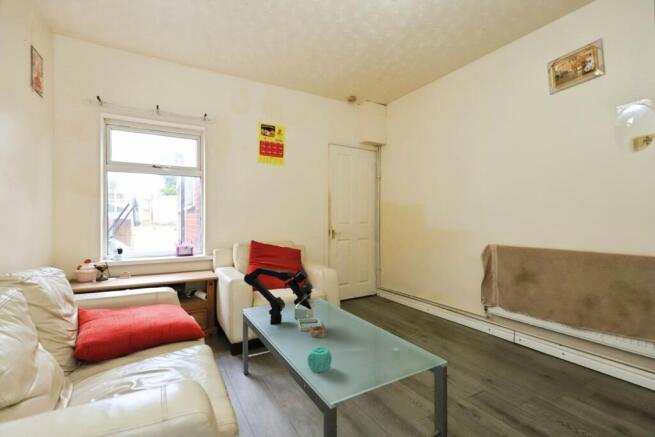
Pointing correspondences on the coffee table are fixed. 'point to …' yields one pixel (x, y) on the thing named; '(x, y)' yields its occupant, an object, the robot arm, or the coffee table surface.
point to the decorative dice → (319, 359)
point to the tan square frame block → (318, 331)
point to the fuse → (310, 311)
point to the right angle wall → (300, 313)
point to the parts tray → (307, 321)
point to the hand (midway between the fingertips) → (312, 307)
